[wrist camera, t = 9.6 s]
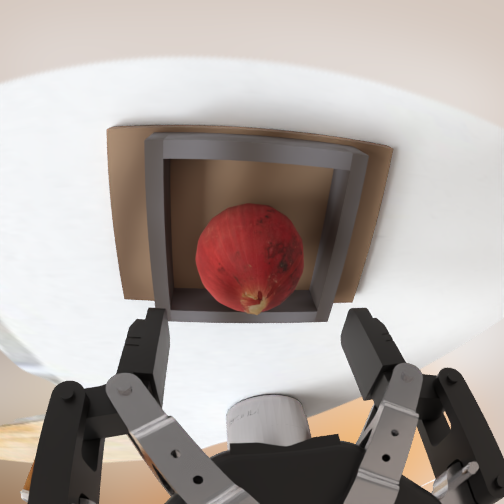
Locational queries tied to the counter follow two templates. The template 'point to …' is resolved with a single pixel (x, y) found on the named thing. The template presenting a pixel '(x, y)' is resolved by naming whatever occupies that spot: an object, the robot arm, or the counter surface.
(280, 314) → the pocket board
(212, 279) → the onion
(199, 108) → the counter surface
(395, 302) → the counter surface
